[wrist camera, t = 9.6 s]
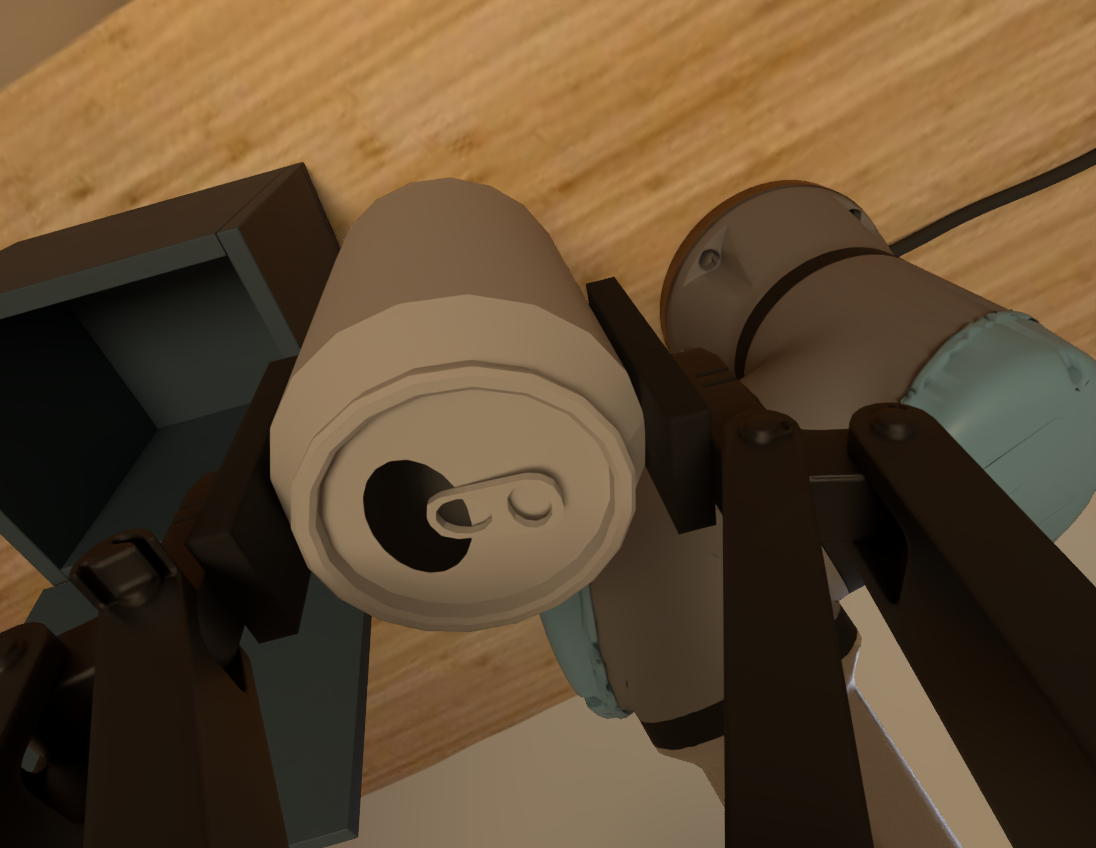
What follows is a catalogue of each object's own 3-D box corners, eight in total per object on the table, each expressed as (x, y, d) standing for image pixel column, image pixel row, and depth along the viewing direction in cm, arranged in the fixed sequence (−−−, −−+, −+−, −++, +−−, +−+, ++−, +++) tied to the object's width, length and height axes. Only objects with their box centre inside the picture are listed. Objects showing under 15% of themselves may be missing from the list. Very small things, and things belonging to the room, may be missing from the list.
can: (294, 211, 19) (144, 423, 9) (529, 141, 19) (642, 274, 9) (388, 408, 23) (357, 700, 13) (580, 351, 23) (694, 601, 13)
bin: (16, 242, 35) (-193, 347, 23) (303, 161, 35) (237, 226, 23) (157, 435, 42) (53, 587, 31) (392, 369, 42) (376, 495, 31)
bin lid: (-184, 980, 19) (-160, 985, 19) (348, 829, 19) (358, 838, 19) (43, 589, 30) (54, 598, 31) (372, 496, 30) (378, 506, 31)
